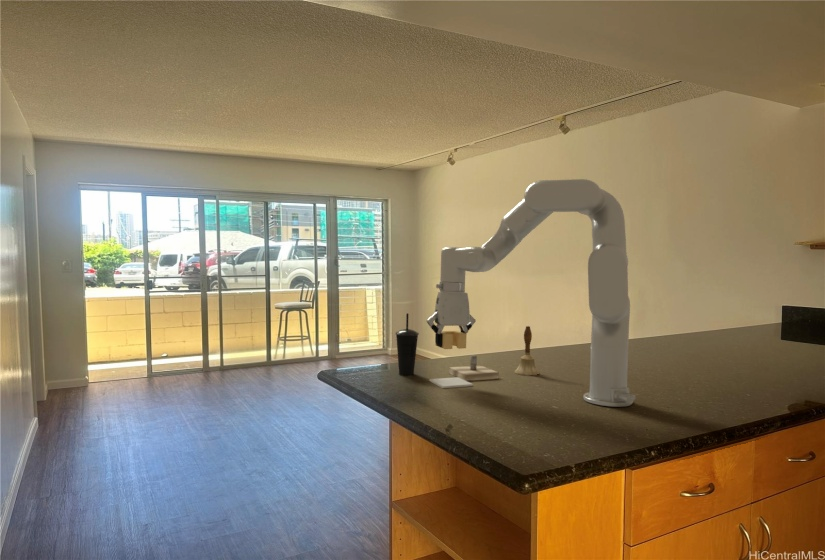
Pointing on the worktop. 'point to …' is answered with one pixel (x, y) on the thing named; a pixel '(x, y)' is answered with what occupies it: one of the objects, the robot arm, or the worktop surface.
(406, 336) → the drinking cup
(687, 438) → the worktop surface
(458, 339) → the c link
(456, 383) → the pad
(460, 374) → the stand
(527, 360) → the hand bell
